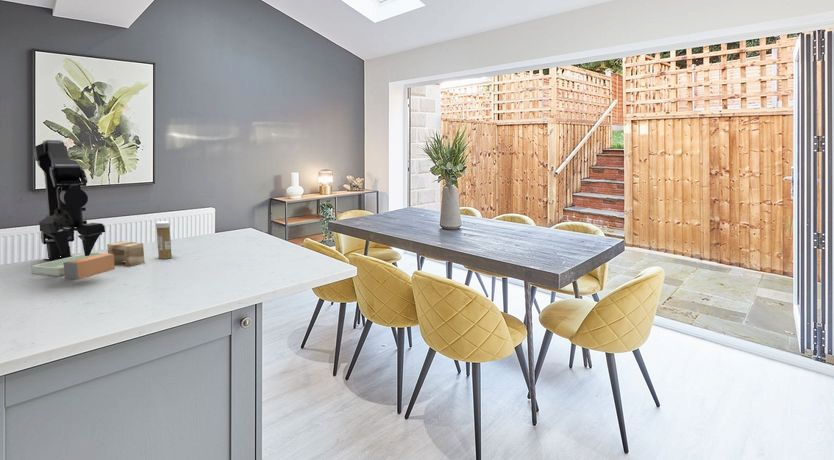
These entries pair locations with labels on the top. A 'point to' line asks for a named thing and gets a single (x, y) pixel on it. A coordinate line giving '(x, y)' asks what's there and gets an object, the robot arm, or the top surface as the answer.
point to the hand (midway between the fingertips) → (75, 254)
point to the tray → (57, 265)
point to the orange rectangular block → (88, 266)
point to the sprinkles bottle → (163, 239)
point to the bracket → (127, 252)
